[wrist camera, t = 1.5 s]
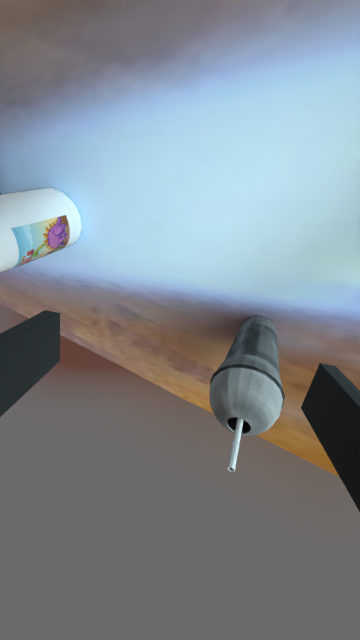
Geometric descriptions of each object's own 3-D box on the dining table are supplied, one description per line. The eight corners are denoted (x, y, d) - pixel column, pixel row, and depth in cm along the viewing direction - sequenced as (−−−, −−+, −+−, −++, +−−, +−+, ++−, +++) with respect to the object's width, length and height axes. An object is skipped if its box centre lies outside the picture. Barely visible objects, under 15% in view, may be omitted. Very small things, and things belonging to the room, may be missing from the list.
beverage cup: (227, 342, 37) (178, 479, 22) (237, 300, 33) (185, 431, 17) (277, 357, 35) (264, 518, 20) (295, 314, 31) (296, 475, 16)
